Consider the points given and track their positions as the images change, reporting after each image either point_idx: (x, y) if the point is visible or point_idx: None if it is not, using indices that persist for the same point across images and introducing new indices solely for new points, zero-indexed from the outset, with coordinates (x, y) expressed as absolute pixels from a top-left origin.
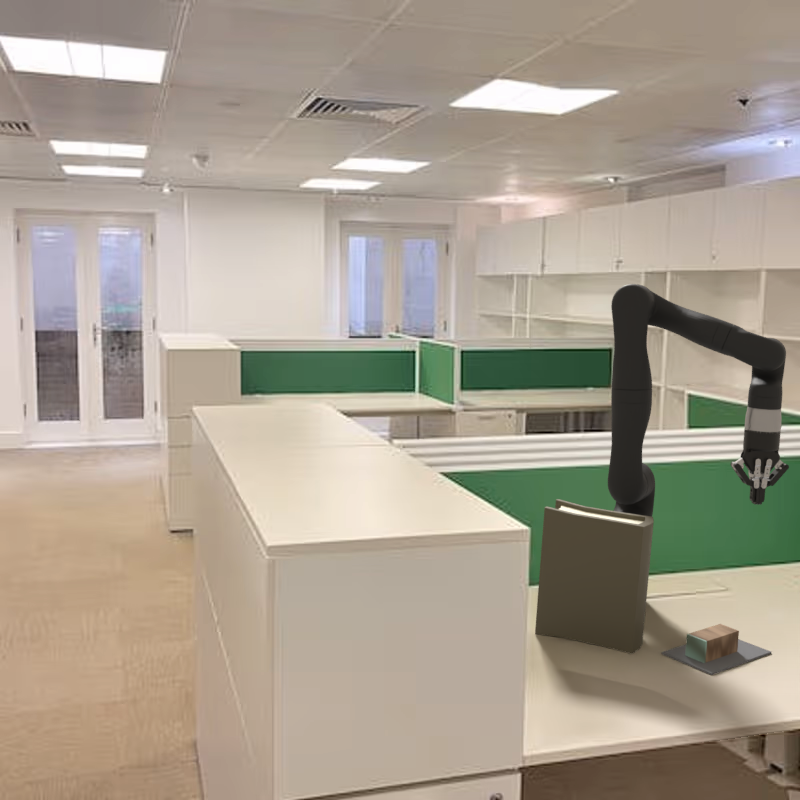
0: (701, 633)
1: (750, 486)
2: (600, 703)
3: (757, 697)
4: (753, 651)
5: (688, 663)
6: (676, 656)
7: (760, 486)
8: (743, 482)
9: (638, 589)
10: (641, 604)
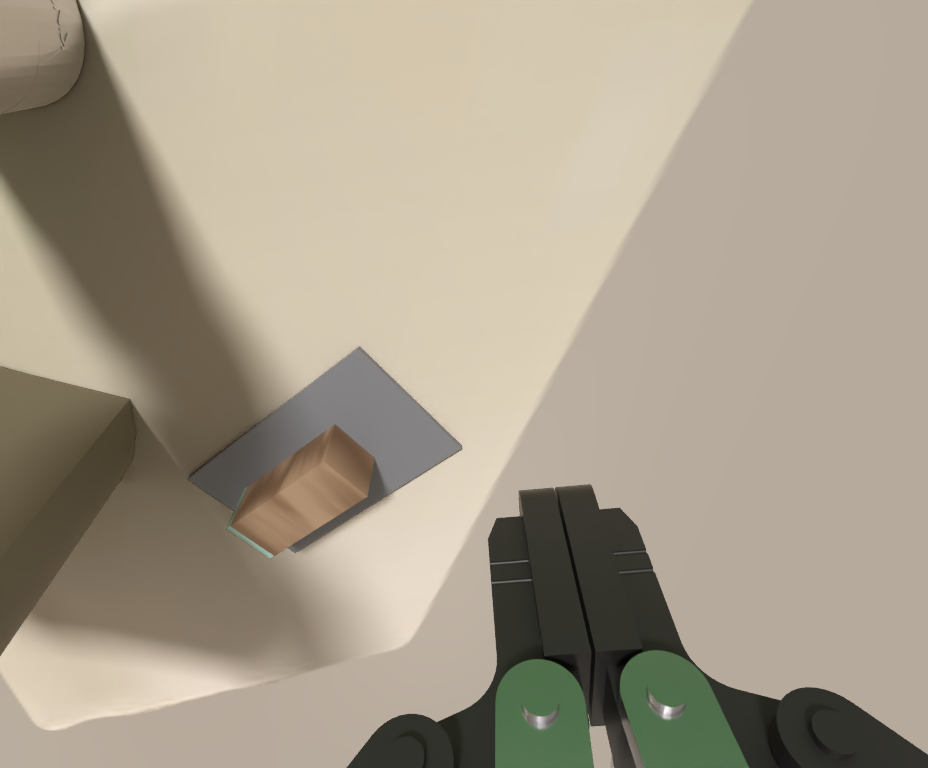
0: (264, 522)
1: (491, 699)
2: (98, 643)
3: (367, 606)
4: (416, 452)
5: None
6: (223, 496)
7: (612, 743)
8: (382, 754)
9: (18, 628)
10: (61, 563)
